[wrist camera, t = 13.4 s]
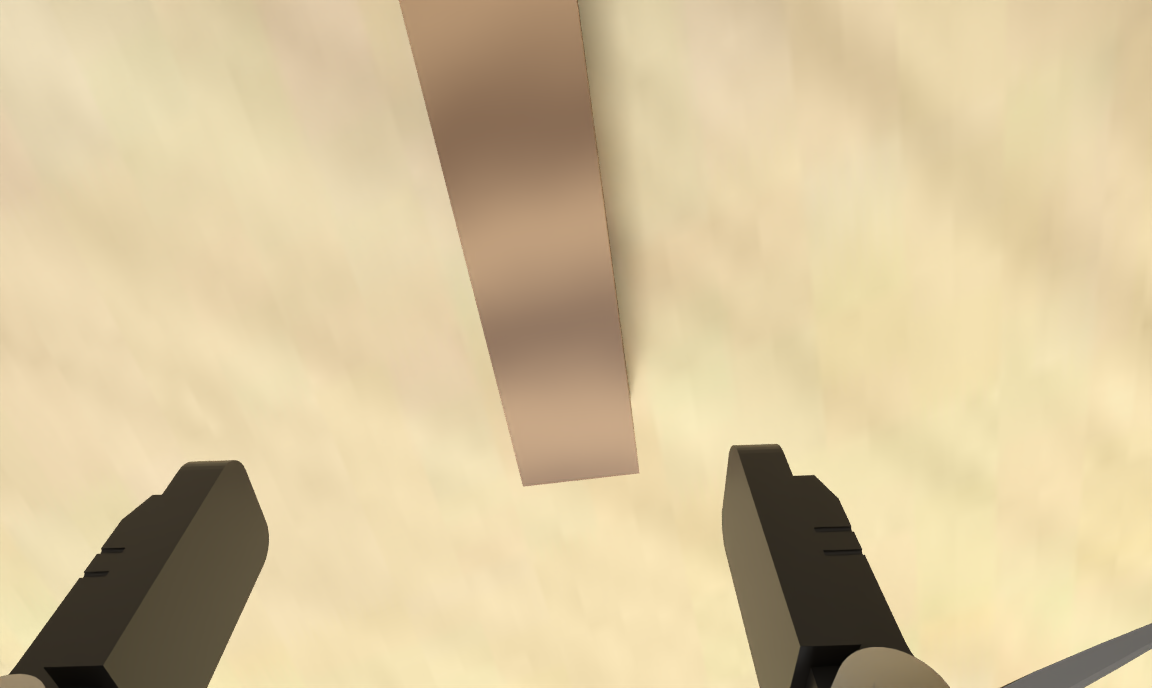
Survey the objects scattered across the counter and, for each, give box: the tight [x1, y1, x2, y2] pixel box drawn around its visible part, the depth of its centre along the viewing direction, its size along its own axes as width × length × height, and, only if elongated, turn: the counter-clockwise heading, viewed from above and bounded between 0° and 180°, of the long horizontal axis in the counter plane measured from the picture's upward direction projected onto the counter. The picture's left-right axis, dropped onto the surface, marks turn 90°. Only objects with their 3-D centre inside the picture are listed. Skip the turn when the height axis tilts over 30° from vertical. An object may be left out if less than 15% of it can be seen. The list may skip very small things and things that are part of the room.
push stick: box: [399, 0, 639, 486], centre depth 19 cm, size 24×4×4 cm, turn 8°
